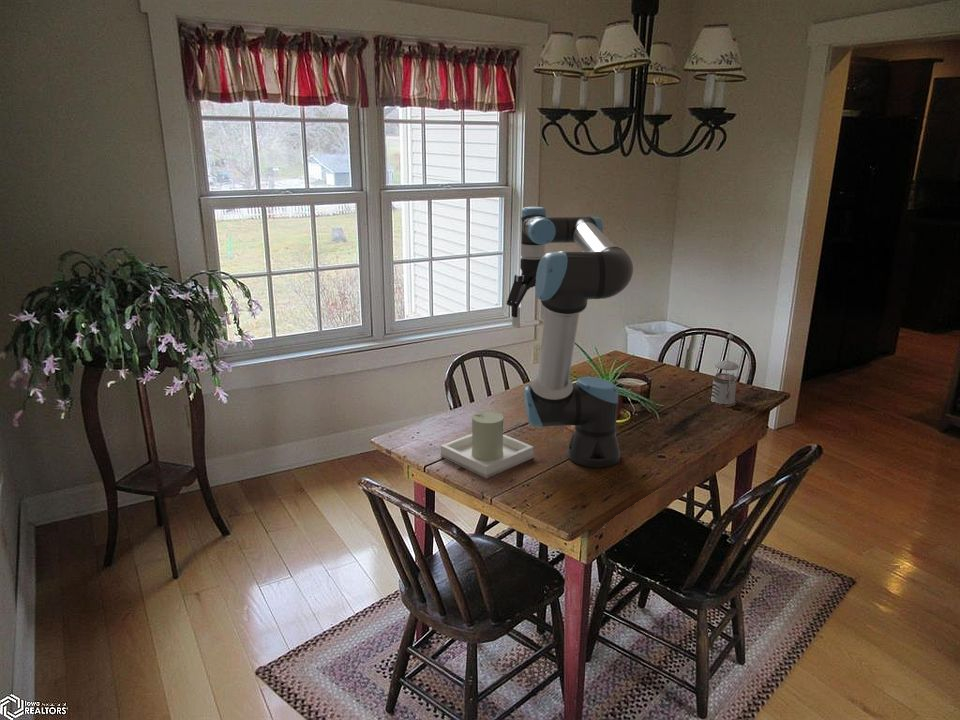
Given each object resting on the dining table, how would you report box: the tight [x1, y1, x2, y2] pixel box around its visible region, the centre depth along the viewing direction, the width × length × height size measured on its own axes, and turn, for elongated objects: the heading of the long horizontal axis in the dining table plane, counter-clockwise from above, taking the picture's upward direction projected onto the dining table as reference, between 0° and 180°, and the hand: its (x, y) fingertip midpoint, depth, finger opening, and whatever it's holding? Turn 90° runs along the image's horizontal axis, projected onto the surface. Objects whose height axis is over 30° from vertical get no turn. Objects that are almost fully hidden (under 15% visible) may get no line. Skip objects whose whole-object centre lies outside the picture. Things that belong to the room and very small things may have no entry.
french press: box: [710, 334, 740, 404], centre depth 238 cm, size 10×12×25 cm
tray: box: [440, 433, 534, 480], centre depth 199 cm, size 19×19×4 cm
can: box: [471, 410, 505, 461], centre depth 198 cm, size 9×9×12 cm
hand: (530, 323), depth 221 cm, fingers open, 13 cm apart
